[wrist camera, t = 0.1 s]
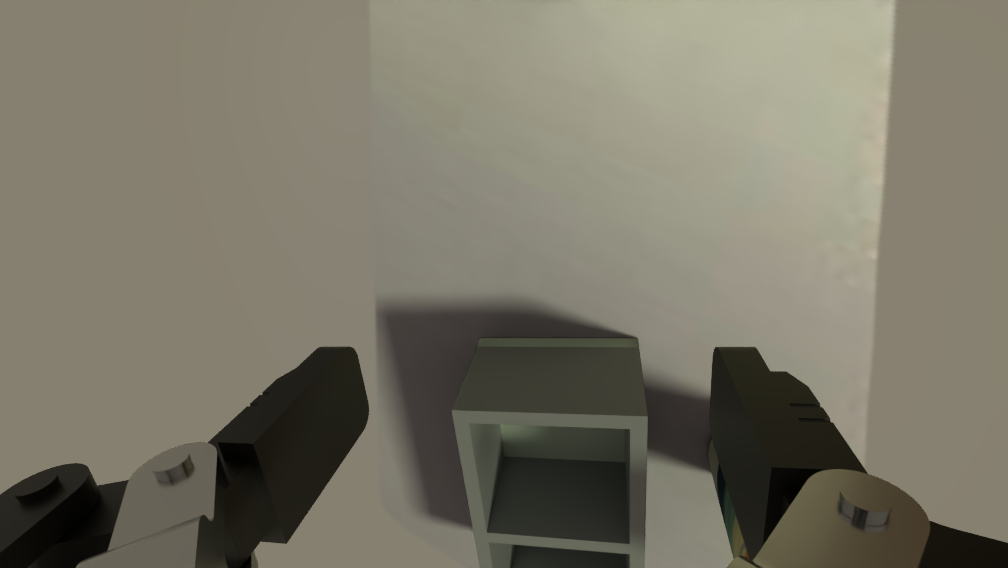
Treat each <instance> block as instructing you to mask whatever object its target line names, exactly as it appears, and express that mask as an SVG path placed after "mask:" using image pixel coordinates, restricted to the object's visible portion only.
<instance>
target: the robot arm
mask: <svg viewBox="0 0 1008 568" xmlns="http://www.w3.org/2000/svg"><path fill="white" fill-rule="evenodd" d="M368 415H369V405H368V400H367V395H366V391H365V386H364V382H363V377H362V373H361V369H360V364H359V359H358V355H357V353H356V351H355V350H354V349H353V348H352V347H319V348H317V349H316V350H315V351H314V352H313V353H312V354H311V355H310V356H309V357H308V358H307V359H306V360H304V361H303V362H302V363H301V364H300V365H299V366H298V367H297V368H296V369H294V370H292V371H290V372H289V373H287V374H285V375H283V376H281V377H280V378H278V379H277V380H276V381H274V382H273V383H272V384H271V385H270V386H269V387H268V388H267V389H266V390H265V391H264V392H263V395H259V396H258V397H257V398H256V399H255V400H254V401H253V402H252V403H250V407H246V408H245V409H244V410H243V411H242V412H241V413H240V414H238V415H237V416H236V417H235V418H234V419H233V420H232V421H231V422H230V423H229V424H228V425H226V426H225V427H224V428H223V429H222V430H221V431H220V432H219V433H218V434H217V435H216V436H214V437H213V438H212V439H211V440H210V441H209V442H208V443H204V442H196V443H189V444H184V445H181V446H177V447H174V448H172V449H169V450H167V451H165V452H162V453H161V454H159V455H157V456H155V457H153V458H152V459H150V460H148V461H147V462H146V463H144V464H143V465H142V466H141V467H139V468H138V469H137V470H136V471H135V472H134V473H133V475H132V476H131V478H130V479H129V480H126V481H121V482H115V483H110V484H105V485H99V486H97V485H96V482H95V480H94V478H93V476H92V474H91V472H90V470H89V468H88V467H87V466H86V465H83V464H77V463H75V464H65V465H61V466H57V467H53V468H50V469H47V470H44V471H42V472H39V473H37V474H35V475H32V476H30V477H28V478H26V479H24V480H22V481H21V482H19V483H17V484H15V485H14V486H12V487H11V488H9V489H8V490H6V491H5V492H3V493H2V494H1V495H0V568H258V562H257V558H256V556H255V553H254V549H255V548H256V547H257V545H258V544H259V543H260V541H262V542H273V543H274V542H275V543H285V544H286V543H287V542H288V541H289V539H290V538H291V536H292V535H293V533H294V532H295V530H296V529H297V527H298V526H299V525H300V523H301V522H302V520H303V519H304V517H305V516H306V514H307V513H308V511H309V510H310V508H311V507H312V505H313V504H314V503H315V501H316V500H317V498H318V497H319V495H320V494H321V492H322V491H323V489H324V488H325V486H326V485H327V483H328V482H329V481H330V479H331V478H332V476H333V474H334V473H335V472H336V470H337V469H338V467H339V466H340V464H341V463H342V461H343V460H344V459H345V457H346V456H347V454H348V453H349V451H350V450H351V448H352V447H353V445H354V444H355V442H356V441H357V439H358V438H359V436H360V435H361V433H362V432H363V431H364V429H365V426H366V424H367V420H368ZM710 429H711V436H712V441H713V445H714V448H715V451H716V454H717V457H718V460H719V464H720V467H721V470H722V473H723V476H724V480H725V483H726V486H727V489H728V492H729V496H730V499H731V502H732V505H733V508H734V511H735V515H736V518H737V521H738V524H739V527H740V531H741V534H742V537H743V540H744V543H745V547H746V550H747V553H748V556H749V559H750V560H749V559H748V558H746V557H744V556H742V555H740V556H737V557H736V558H734V559H733V560H732V561H731V563H730V564H729V565H728V566H727V568H1008V543H1006V542H1002V541H998V540H994V539H991V538H987V537H983V536H979V535H975V534H972V533H968V532H964V531H960V530H956V529H953V528H949V527H946V526H943V525H939V524H937V523H934V522H932V521H929V519H928V517H927V515H926V513H925V511H924V510H923V509H922V507H921V506H920V505H919V504H918V503H917V502H916V501H915V500H914V499H913V498H912V497H911V496H909V495H908V494H907V493H906V492H904V491H903V490H901V489H900V488H898V487H897V486H895V485H893V484H891V483H889V482H887V481H885V480H883V479H880V478H878V477H875V476H872V475H869V474H868V473H867V472H866V470H865V469H864V467H863V466H862V464H861V463H860V462H859V460H858V459H857V457H856V456H855V454H854V453H853V451H852V450H851V448H850V447H849V445H848V444H847V443H846V441H845V440H844V438H843V437H842V435H841V434H840V432H839V431H838V429H837V428H836V427H835V425H834V424H833V423H831V422H830V418H829V416H828V415H827V413H826V412H825V410H824V409H823V408H822V407H820V403H819V402H818V400H817V399H816V397H815V396H814V394H813V393H812V392H811V390H810V389H809V387H808V386H807V385H805V384H804V383H802V382H801V381H799V380H798V379H796V378H795V377H793V376H792V375H790V374H789V373H788V372H770V370H769V369H768V367H767V365H766V363H765V362H764V360H763V358H762V357H761V355H760V353H759V352H758V350H757V349H756V348H755V347H716V348H715V349H714V353H713V362H712V379H711V397H710Z"/></svg>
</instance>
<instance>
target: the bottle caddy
mask: <svg viewBox="0 0 1008 568" xmlns="http://www.w3.org/2000/svg"><path fill="white" fill-rule="evenodd" d="M451 411H452V416H453V422H454V427H455V433H456V438H457V444H458V449H459V455H460V461H461V466H462V472H463V477H464V483H465V488H466V494H467V499H468V505H469V510H470V516H471V521H472V527H473V532H474V538H475V543H476V549H477V554H478V560H479V565H480V568H644V565H645V520H646V475H647V429H648V414H647V406H646V398H645V391H644V383H643V375H642V367H641V359H640V351H639V343H638V338H480V341H479V343H478V346H477V348H476V351H475V353H474V356H473V358H472V360H471V363H470V365H469V368H468V370H467V373H466V375H465V378H464V380H463V383H462V385H461V388H460V390H459V393H458V395H457V398H456V400H455V403H454V405H453V407H452V410H451Z"/></svg>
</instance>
